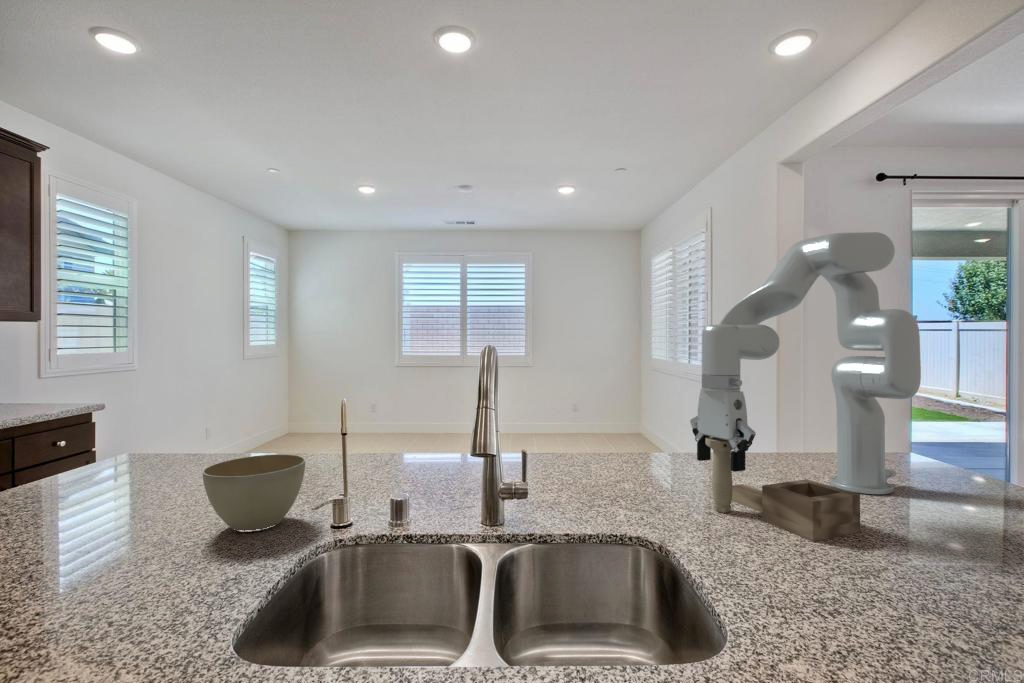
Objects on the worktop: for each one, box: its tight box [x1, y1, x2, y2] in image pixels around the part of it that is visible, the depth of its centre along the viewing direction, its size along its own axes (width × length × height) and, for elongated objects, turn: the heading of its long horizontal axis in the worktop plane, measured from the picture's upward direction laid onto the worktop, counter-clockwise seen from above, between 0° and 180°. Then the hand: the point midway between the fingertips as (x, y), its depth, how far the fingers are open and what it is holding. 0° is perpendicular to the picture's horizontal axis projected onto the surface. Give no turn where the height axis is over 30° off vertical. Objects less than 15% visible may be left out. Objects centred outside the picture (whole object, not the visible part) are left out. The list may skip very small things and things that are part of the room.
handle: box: [705, 437, 739, 514], centre depth 105 cm, size 5×6×15 cm
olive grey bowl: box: [202, 453, 306, 531], centre depth 99 cm, size 18×18×12 cm
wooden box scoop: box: [732, 479, 861, 542], centre depth 102 cm, size 12×24×7 cm, turn 20°
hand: (720, 465), depth 105 cm, fingers open, 9 cm apart
